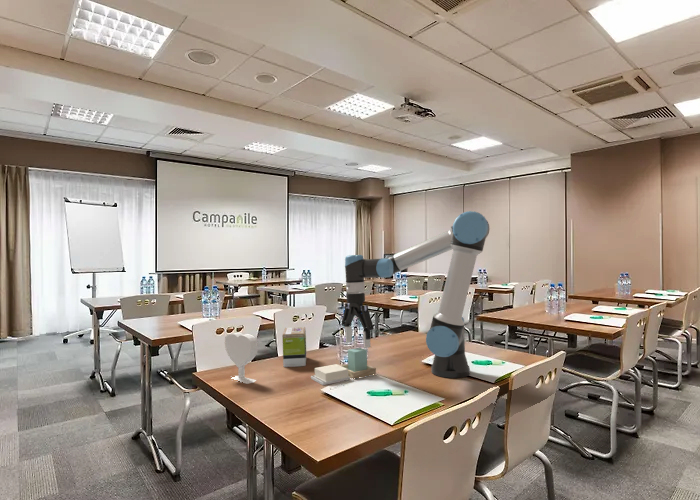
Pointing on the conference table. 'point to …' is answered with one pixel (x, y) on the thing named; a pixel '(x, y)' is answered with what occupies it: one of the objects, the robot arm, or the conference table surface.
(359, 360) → the teal block
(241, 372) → the heart sculpture
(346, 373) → the cream rectangular box
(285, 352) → the tea box
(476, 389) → the conference table surface
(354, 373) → the tray
